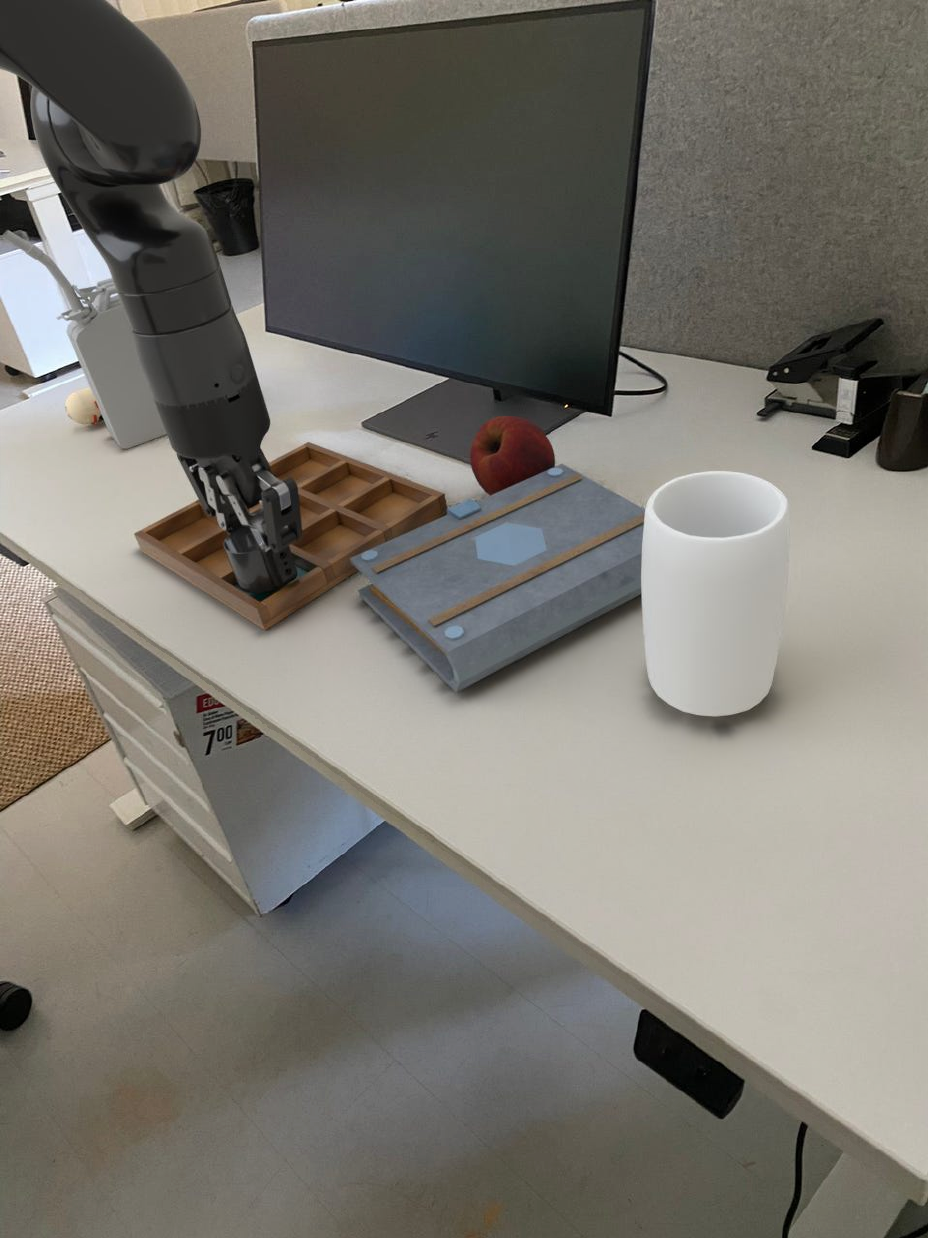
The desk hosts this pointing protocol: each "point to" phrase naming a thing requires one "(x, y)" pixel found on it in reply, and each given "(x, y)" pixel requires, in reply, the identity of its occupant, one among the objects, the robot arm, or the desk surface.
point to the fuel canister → (105, 355)
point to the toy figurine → (83, 407)
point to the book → (507, 573)
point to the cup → (714, 590)
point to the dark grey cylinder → (247, 561)
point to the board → (331, 525)
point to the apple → (509, 453)
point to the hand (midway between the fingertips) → (268, 571)
